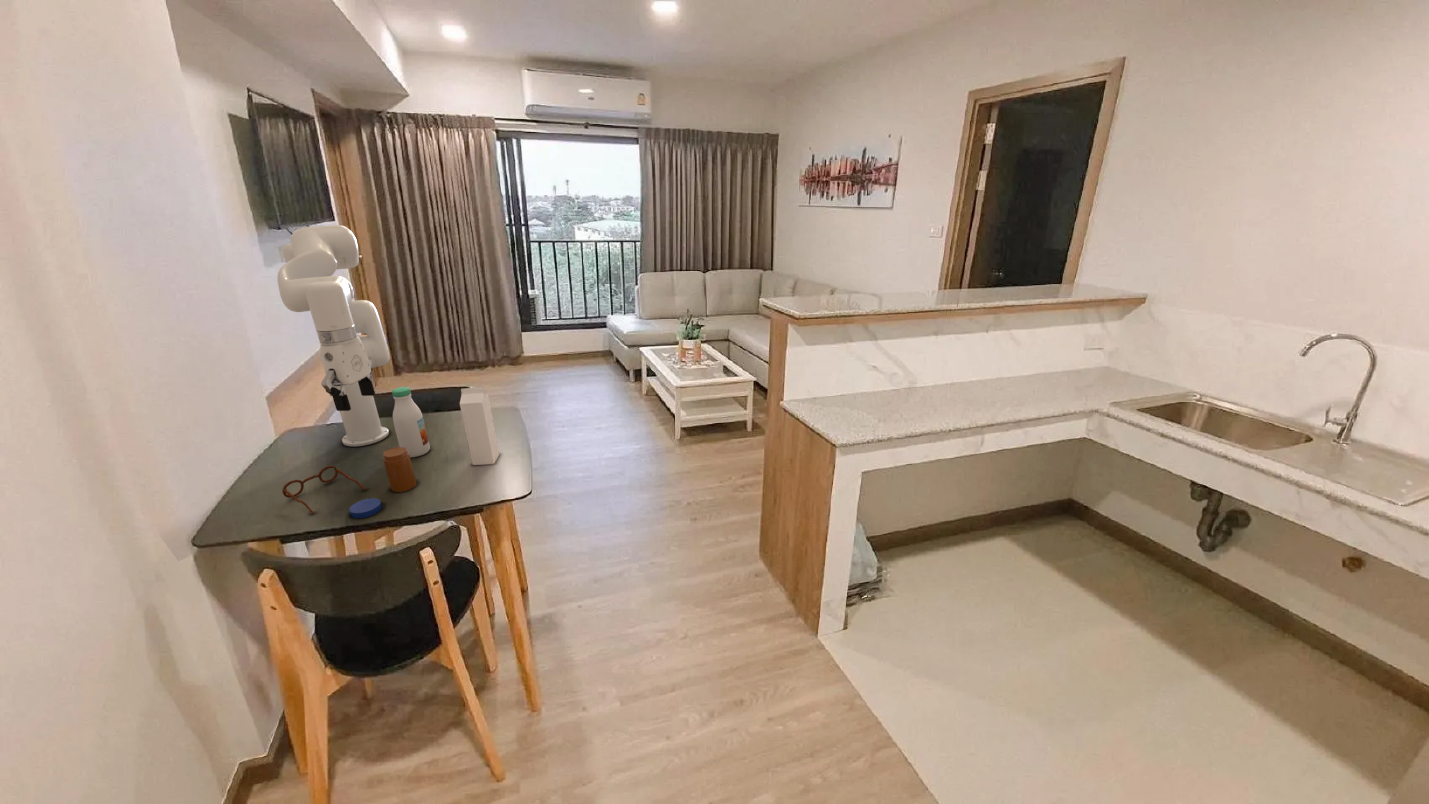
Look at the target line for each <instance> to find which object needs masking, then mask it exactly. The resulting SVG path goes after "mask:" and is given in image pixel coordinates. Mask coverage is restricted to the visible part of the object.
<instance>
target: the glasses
mask: <svg viewBox="0 0 1429 804" xmlns="http://www.w3.org/2000/svg"><path fill="white" fill-rule="evenodd" d="M329 469H334V475H333V476H332V477H331V478H329V479H326V480H325V479H323V477H322V475H323V473H324V472H325V471H327V470H329ZM339 474H340V475H342V476H343V477H345V478H346V479H347V480H348V481H349V480H350V481H352V482H354V483H355V484H356V485H357V486H358V487H359V488H360V489H361V490H363V491H365V490H366V487H364V486H363V485H362V484H361V483H360V482H359V481H358V480H357V479H355V478H354V477H351V476H349V475H348V474H346V473H345V472H344V471H342V470H341V469H339V468H338V467H337V466H335V465H327V466H324V467H322V469H321V470H320V471H319V472H318V474H314V475H311V476H310V477H307V478H305V479H303V480H301V479H293V480H290V481H288V482H287V483H285V484H284V485H283V487H282V491H281V492H282V495H283V496H284V497H285V498H287V499H291V498H292V499H293V500H294V501H295V502H297V503H300V504H301V505H303V506H304V507H305V508H306V509H307V511H309V512H310V513H311V515H314V511H313V510H312V509H311V508H310V506H309V505H308V504H307V502H305V501H303V500H302V499H299V498H298V496H299V495H300V494H301V493H302V492H303V491H304V488H305V483H306V482H308V481H311V480H313V479H316V478H318V479H319V481H320V482H321V483H324V484H327V483H330V482H332V481H334V480H336V479H337V477H338V476H339ZM294 483H295V484H296V483H299V485H300V488H299V490H298V491H297V492H295V493H294V494H292V493H291V492H290V491H288V490H287V488H288V487H289V486H290V485H291V484H294Z"/></svg>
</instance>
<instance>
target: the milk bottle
mask: <svg viewBox="0 0 1429 804" xmlns="http://www.w3.org/2000/svg"><path fill="white" fill-rule="evenodd" d="M391 394H392V398H393V399H394V406H393V410H392V423H393V428H394V431H395V435H396V438H397V443H398V447H404V448H406V449H407V451H408V452H409V455H410V458H416V457H417V458H418V457H420V456H424V455H425V454H428V452H429V451H430V450H431V445H430V441H429V437H428V432H427V428H426V424H425V420H424V417H423V413H422V411H421V409H420V408H419V406H418V405H417V404H416V402H414V400H413V399H412V392H411V388H410V387H408V386H401V387H396V388H393V389H392V390H391Z"/></svg>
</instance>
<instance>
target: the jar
mask: <svg viewBox="0 0 1429 804" xmlns="http://www.w3.org/2000/svg"><path fill="white" fill-rule="evenodd" d="M382 461H383V465H384V469H385V472H386V475H387V479H388V483H389V486H390V490H391V491H392V492H393V493H403V492H407V491H410V490H411V489H413V488H415V487H416V486H417V483H418V482H417V479H416V475H415V471H414V467H413V462H412V459H411V457H410V455H409V452H408V451H407V449H406V448H404V447H399V446H397V447H396V446H395V447H392V448H389V449H387V450H385V451H384V452H383V454H382Z"/></svg>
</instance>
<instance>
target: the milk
mask: <svg viewBox="0 0 1429 804" xmlns="http://www.w3.org/2000/svg"><path fill="white" fill-rule="evenodd" d="M460 392H461V393H460V394H461V396H460V401H459V407H460V412H461V417H462V422H463V426H464V432H465V436H466V440H467V446H468V450H469V455H470V461H471V464H472V465H471V466H482V465H494V464H495V463H496V462H497V460H498V458H499V456H500V449H499V444H498V439H497V434H496V429H495V423H494V418H493V417H494V416H493V413H492V408H491V403H490V396H489V394H488V393H486V392H485V389H484V388H483V387H467V388H461V389H460Z"/></svg>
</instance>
